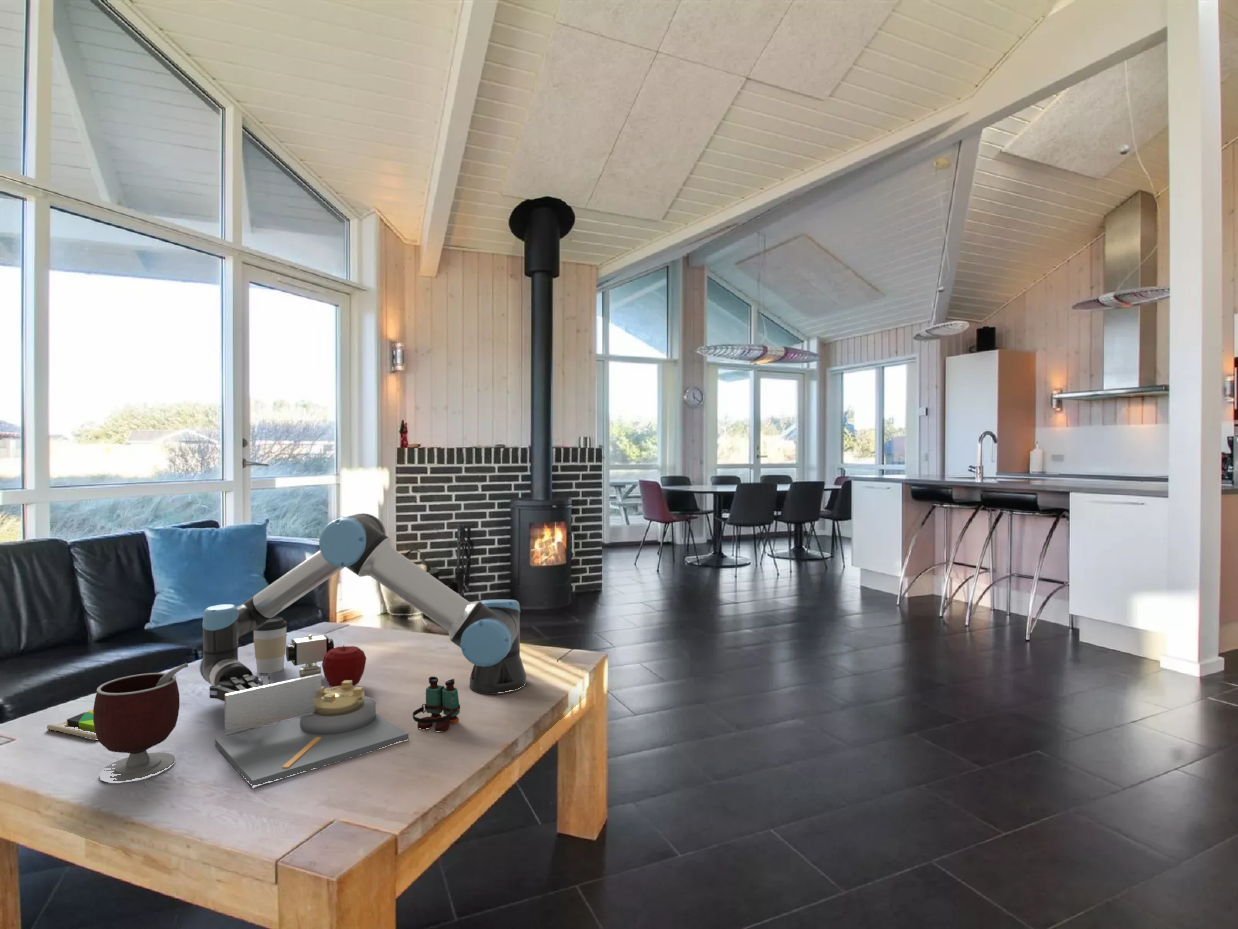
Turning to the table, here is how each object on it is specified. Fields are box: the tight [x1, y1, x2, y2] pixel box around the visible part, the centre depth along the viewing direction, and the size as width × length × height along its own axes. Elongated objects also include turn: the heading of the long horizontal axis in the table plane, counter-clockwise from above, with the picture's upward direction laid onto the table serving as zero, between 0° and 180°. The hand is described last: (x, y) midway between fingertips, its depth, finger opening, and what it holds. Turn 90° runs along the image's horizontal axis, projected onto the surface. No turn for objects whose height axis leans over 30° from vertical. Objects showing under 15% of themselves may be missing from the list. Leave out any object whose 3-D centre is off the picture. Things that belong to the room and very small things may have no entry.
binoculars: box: [412, 676, 461, 732], centre depth 155 cm, size 9×11×10 cm
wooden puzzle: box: [46, 708, 97, 740], centre depth 159 cm, size 18×19×4 cm
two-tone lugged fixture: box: [224, 674, 365, 736], centre depth 149 cm, size 28×11×8 cm, turn 134°
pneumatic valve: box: [285, 634, 335, 678], centre depth 190 cm, size 6×12×12 cm, turn 125°
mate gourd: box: [92, 662, 189, 781], centre depth 134 cm, size 16×14×20 cm
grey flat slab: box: [214, 695, 409, 786], centre depth 146 cm, size 31×26×4 cm
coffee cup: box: [253, 616, 288, 674], centre depth 197 cm, size 9×9×15 cm
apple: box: [321, 644, 367, 687], centre depth 181 cm, size 11×11×12 cm
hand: (262, 704), depth 145 cm, fingers closed
